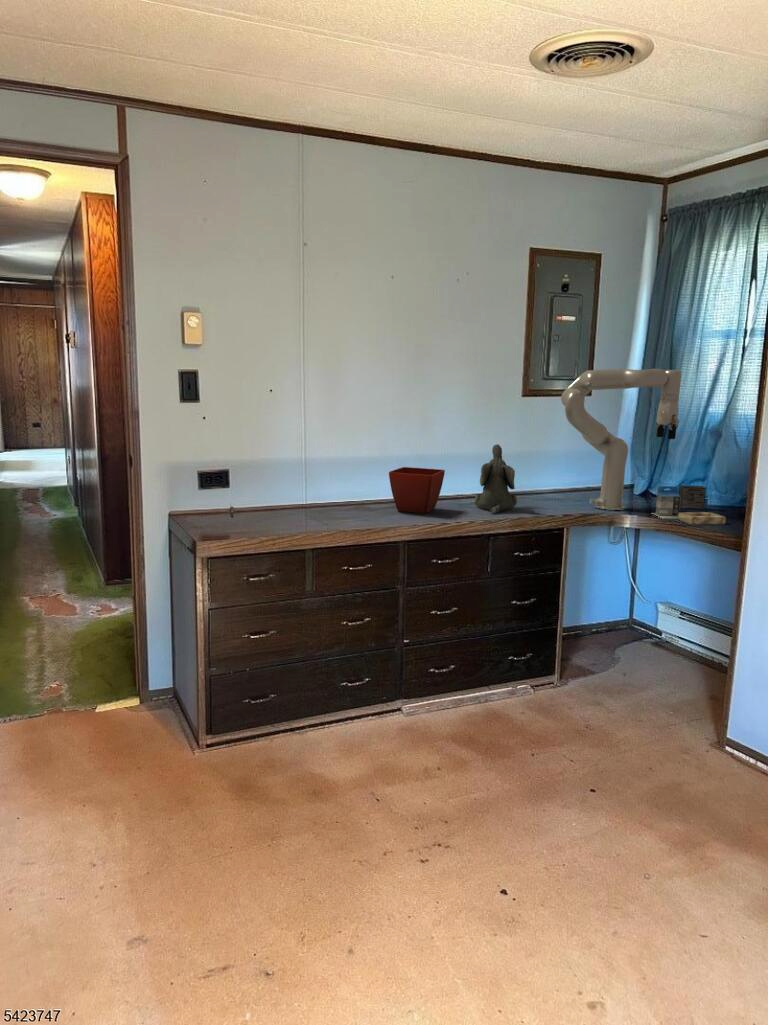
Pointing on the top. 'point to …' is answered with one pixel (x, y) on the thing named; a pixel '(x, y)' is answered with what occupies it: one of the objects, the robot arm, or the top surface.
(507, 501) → the grey seated figure statue
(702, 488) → the small box
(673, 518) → the pad
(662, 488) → the label tape box
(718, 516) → the pocket block
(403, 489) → the plant pot
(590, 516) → the top surface
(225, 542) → the top surface
